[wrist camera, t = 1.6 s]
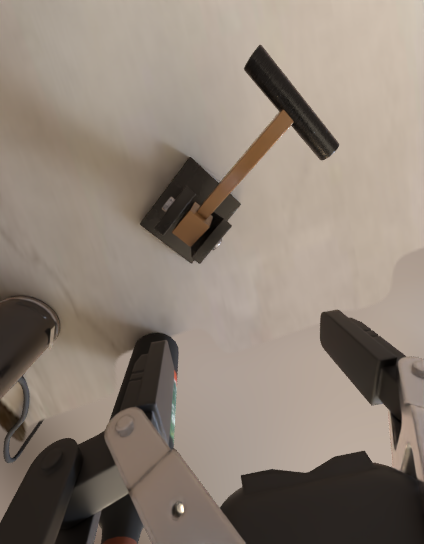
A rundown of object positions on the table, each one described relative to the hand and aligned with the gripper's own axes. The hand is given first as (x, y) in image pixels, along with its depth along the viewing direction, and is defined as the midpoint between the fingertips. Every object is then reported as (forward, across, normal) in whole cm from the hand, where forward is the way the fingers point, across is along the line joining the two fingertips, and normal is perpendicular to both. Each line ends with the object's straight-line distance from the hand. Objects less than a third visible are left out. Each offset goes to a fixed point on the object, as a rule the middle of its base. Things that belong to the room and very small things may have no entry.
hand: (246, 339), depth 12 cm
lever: (+11, +2, +8) cm, 14 cm away
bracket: (+24, -2, +4) cm, 24 cm away
